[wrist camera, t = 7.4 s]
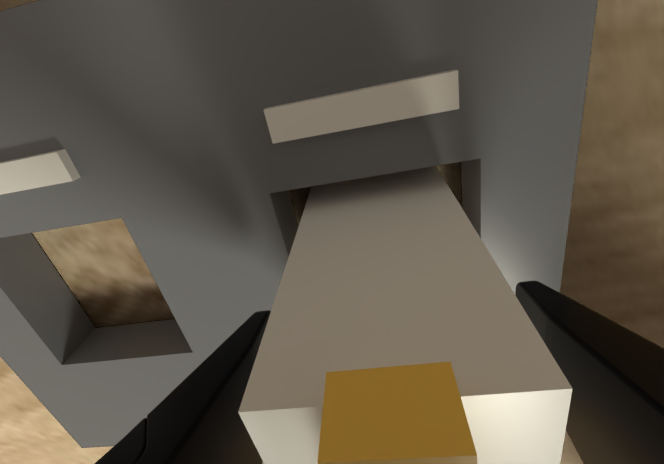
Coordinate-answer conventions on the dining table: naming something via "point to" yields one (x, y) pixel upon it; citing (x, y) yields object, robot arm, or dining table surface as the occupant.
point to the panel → (257, 158)
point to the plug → (400, 340)
